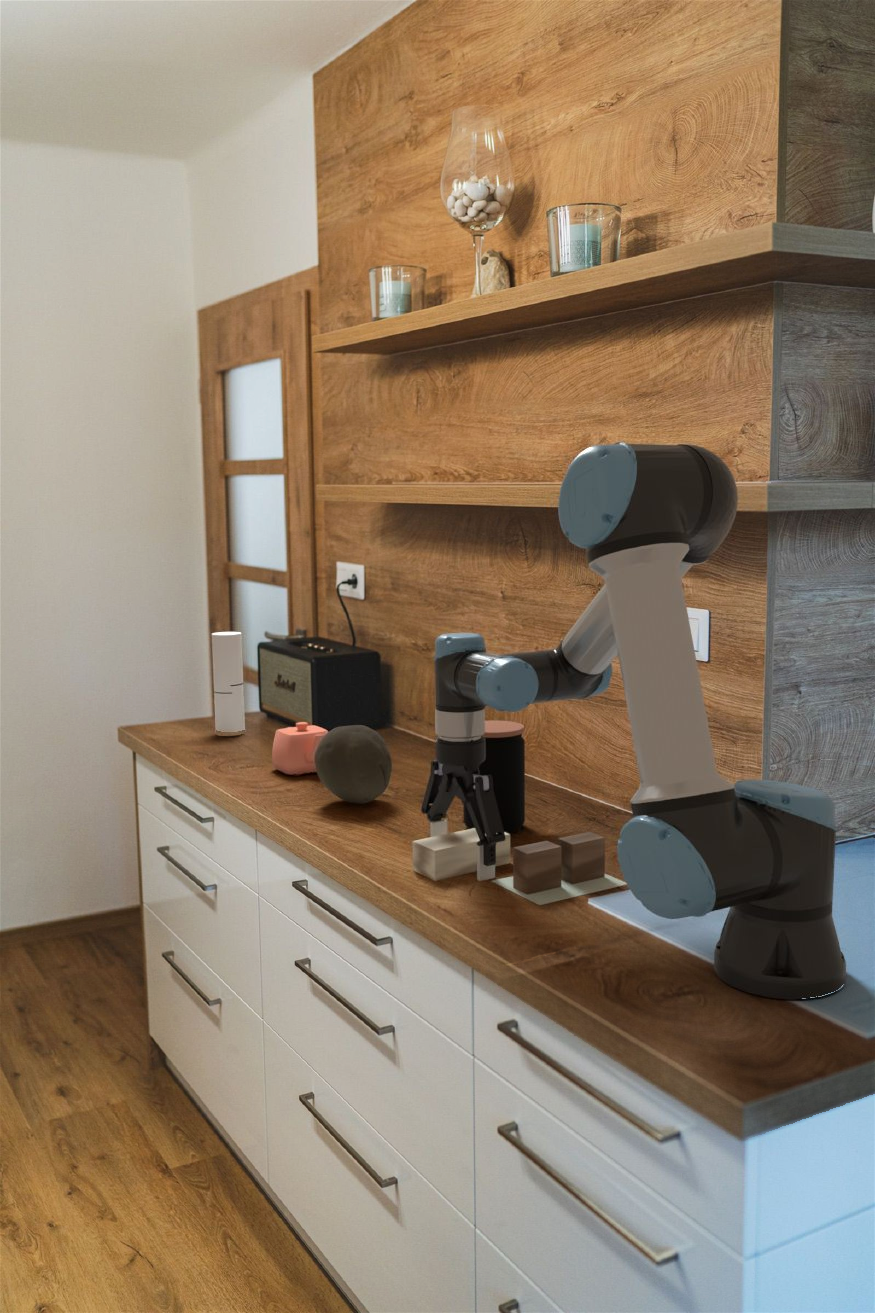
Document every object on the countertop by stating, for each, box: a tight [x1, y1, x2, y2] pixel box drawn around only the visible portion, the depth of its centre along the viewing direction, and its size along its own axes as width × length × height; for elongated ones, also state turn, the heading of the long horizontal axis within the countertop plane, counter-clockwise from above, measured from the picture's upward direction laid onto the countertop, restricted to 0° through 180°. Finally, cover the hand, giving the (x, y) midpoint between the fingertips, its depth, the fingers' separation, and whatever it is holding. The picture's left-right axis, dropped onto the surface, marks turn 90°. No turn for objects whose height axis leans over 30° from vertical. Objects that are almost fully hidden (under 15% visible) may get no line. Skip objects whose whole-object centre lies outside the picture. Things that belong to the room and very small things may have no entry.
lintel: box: [412, 828, 511, 882], centre depth 175 cm, size 6×14×6 cm, turn 124°
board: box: [491, 873, 628, 906], centre depth 168 cm, size 12×16×1 cm
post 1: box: [512, 840, 561, 895], centre depth 165 cm, size 4×6×6 cm, turn 121°
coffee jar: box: [462, 719, 526, 835], centre depth 199 cm, size 11×11×18 cm
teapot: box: [271, 721, 329, 776], centre depth 243 cm, size 12×18×10 cm, turn 30°
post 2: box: [557, 831, 606, 884], centre depth 169 cm, size 4×6×6 cm, turn 121°
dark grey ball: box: [315, 724, 393, 805], centre depth 216 cm, size 14×14×15 cm
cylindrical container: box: [211, 631, 246, 732], centre depth 281 cm, size 7×7×25 cm
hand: (461, 873), depth 176 cm, fingers open, 13 cm apart
